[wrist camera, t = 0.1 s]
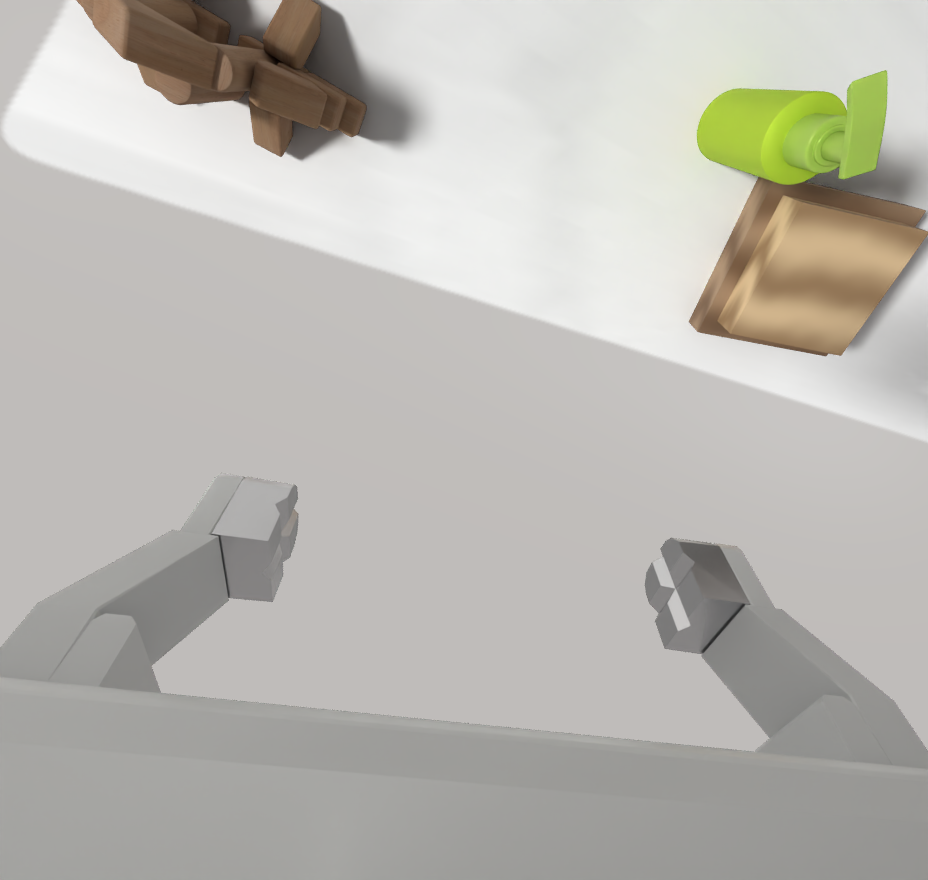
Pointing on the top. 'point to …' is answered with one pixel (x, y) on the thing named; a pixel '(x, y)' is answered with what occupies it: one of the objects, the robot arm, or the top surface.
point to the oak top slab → (817, 275)
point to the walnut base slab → (751, 231)
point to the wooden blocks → (230, 63)
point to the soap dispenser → (796, 131)
